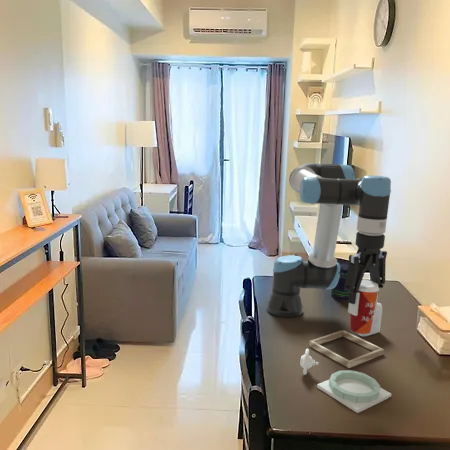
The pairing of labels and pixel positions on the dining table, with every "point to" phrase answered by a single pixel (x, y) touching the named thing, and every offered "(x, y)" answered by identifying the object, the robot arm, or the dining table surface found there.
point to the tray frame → (348, 363)
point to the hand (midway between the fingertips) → (362, 311)
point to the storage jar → (341, 285)
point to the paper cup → (365, 307)
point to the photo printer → (375, 321)
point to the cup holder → (354, 389)
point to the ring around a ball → (307, 362)
